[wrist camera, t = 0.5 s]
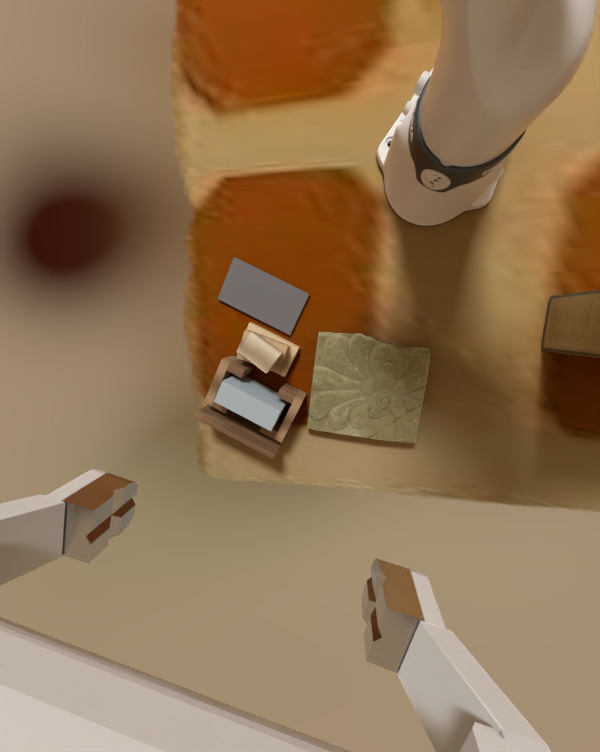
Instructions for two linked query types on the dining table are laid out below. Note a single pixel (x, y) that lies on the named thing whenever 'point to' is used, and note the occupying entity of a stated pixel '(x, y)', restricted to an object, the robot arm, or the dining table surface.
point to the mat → (263, 296)
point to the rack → (240, 426)
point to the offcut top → (260, 352)
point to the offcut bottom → (293, 347)
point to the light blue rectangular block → (251, 400)
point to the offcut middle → (279, 345)
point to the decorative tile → (367, 387)
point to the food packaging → (573, 324)
